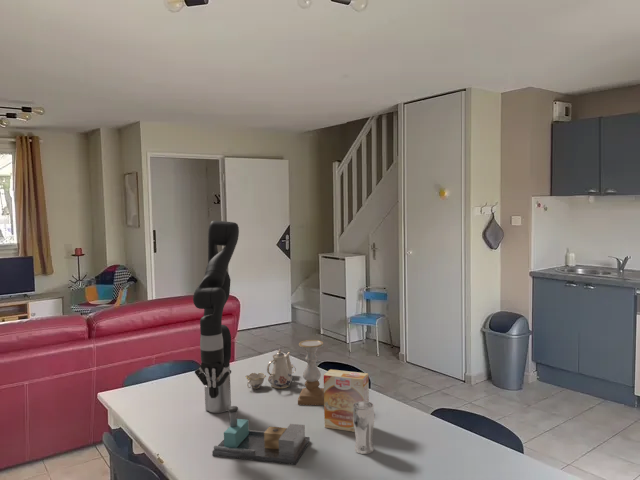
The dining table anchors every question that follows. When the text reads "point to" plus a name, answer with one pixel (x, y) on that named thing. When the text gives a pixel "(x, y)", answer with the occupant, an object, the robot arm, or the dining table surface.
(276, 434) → the block
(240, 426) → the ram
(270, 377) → the chinaware
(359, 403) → the beer glass
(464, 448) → the dining table surface
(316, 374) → the candle holder
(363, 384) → the coffeecake box
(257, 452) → the frame
